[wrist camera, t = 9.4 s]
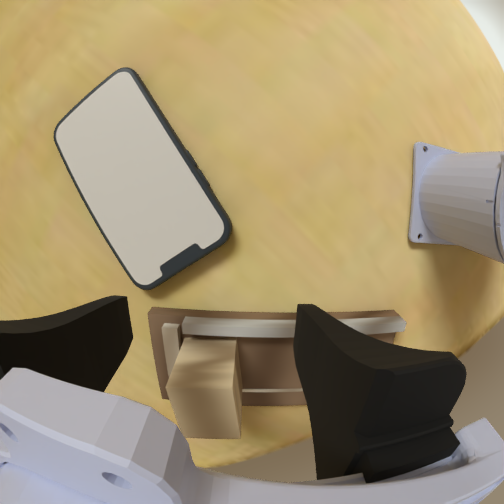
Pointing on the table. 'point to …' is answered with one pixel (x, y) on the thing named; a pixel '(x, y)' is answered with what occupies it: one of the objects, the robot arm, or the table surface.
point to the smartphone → (139, 181)
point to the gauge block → (207, 388)
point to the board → (255, 345)
